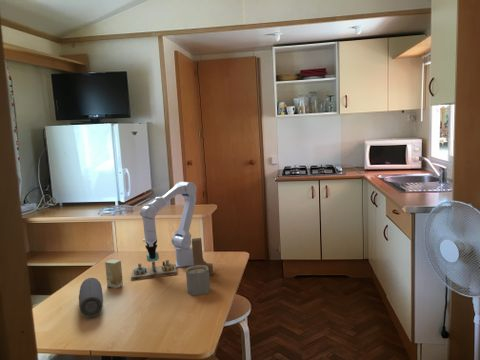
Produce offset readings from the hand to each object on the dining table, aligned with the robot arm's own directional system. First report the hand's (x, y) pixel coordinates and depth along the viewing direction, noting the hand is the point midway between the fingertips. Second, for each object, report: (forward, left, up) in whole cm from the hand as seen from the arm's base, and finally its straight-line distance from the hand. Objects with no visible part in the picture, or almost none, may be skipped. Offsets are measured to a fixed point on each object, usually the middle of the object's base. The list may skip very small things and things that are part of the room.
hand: (152, 256), depth 200 cm
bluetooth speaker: (+25, +31, -10) cm, 41 cm away
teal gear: (0, 0, -2) cm, 2 cm away
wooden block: (-24, +10, -10) cm, 27 cm away
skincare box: (+18, +9, -10) cm, 22 cm away
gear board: (0, -1, -9) cm, 9 cm away
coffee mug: (-20, +27, -10) cm, 34 cm away
